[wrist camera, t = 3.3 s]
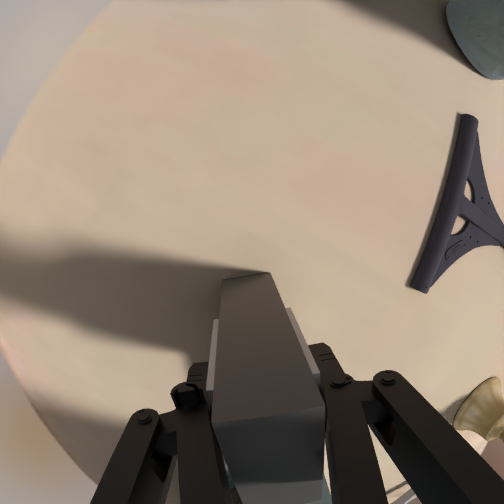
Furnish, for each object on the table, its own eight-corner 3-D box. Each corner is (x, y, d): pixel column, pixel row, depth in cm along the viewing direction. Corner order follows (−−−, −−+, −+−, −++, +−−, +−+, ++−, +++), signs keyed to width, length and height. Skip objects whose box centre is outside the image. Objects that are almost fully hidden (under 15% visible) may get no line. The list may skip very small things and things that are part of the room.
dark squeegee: (496, 319, 22) (512, 329, 19) (405, 283, 20) (425, 295, 17) (535, 193, 19) (553, 195, 17) (455, 115, 17) (477, 110, 15)
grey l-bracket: (222, 280, 18) (211, 422, 7) (270, 272, 18) (324, 404, 7) (261, 467, 23) (275, 569, 11) (292, 463, 23) (315, 563, 11)
